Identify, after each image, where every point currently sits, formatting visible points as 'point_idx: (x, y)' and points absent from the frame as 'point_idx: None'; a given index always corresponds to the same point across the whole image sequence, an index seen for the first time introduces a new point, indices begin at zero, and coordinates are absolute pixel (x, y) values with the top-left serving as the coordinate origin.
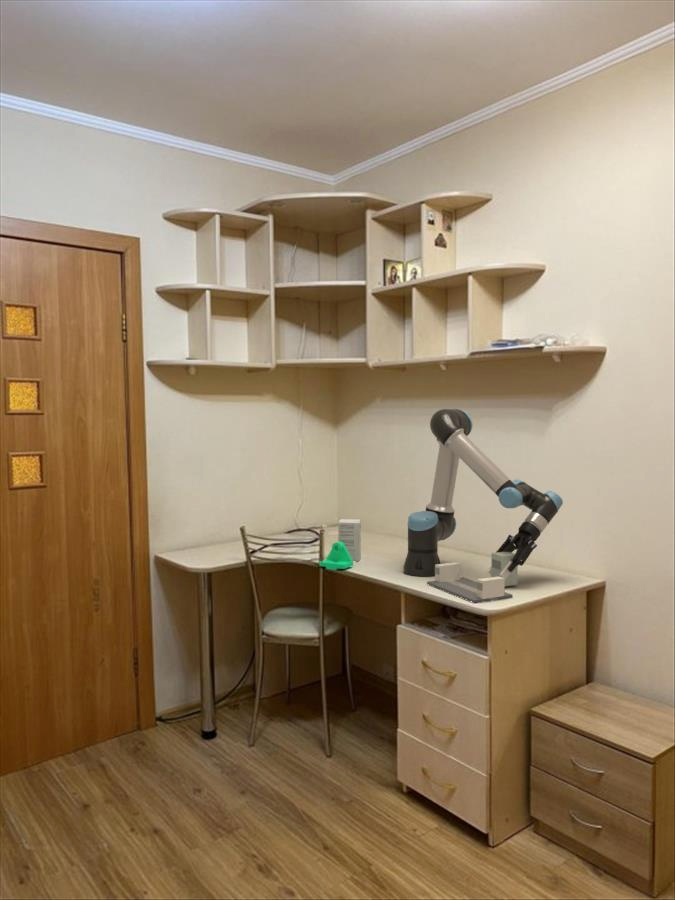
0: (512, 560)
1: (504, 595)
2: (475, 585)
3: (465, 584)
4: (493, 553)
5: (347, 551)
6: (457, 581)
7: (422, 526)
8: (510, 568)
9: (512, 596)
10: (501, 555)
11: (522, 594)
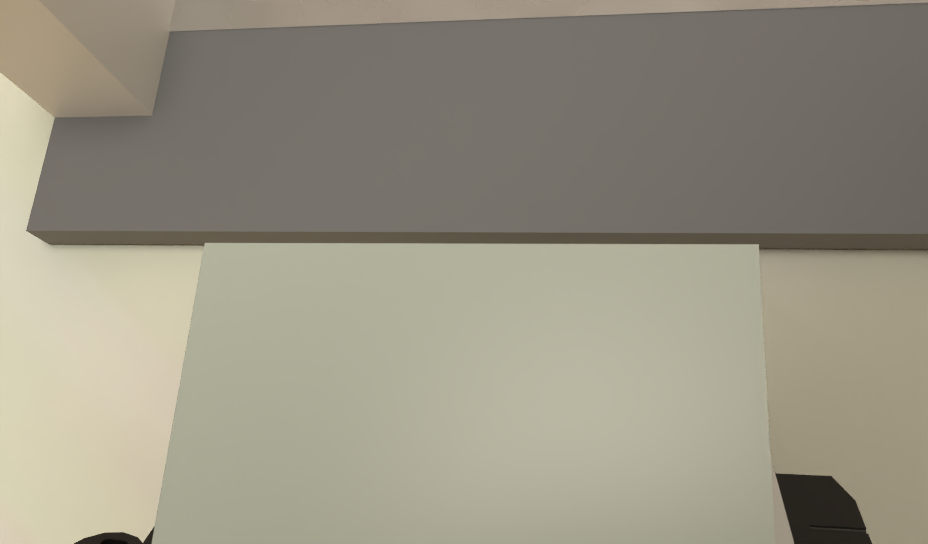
0: (89, 538)
1: (64, 129)
2: (612, 104)
3: (721, 24)
4: (664, 256)
5: None
6: (924, 17)
7: None
8: None
9: (39, 238)
10: (290, 288)
11: (64, 461)
